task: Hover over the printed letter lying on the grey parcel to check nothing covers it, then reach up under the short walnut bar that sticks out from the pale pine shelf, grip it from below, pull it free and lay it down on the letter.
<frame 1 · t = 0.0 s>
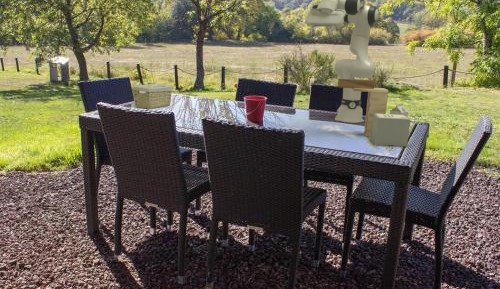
hand: (320, 33, 240), 54 cm above the table, tool tilted 30°, fingers open, 8 cm apart
pine shelf: (367, 134, 260), on the table
letter: (391, 116, 240), resting on grey parcel
walnut bar: (355, 87, 254), point 26 cm above the table, touching pine shelf
grey parcel: (388, 142, 243), on the table
storage basket: (153, 106, 323), on the table
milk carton: (395, 138, 256), on the table
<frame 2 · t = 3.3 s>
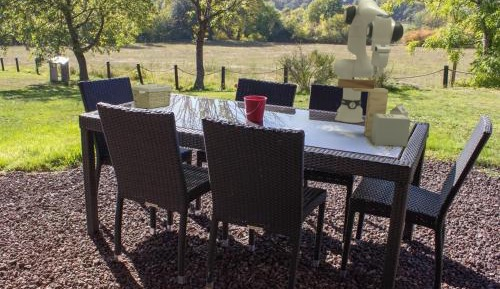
hand: (377, 75, 237), 35 cm above the table, tool pointing down, fingers open, 8 cm apart
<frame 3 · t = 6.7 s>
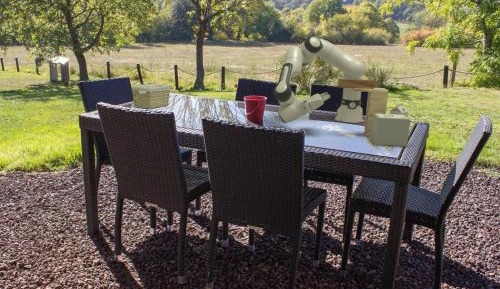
hand: (328, 94, 256), 22 cm above the table, tool pointing upward, fingers open, 8 cm apart
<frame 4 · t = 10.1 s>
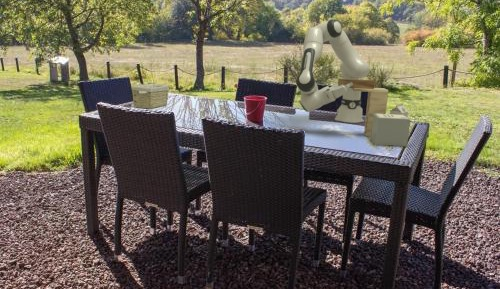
hand: (351, 82, 254), 29 cm above the table, tool pointing upward, fingers closed on walnut bar, 4 cm apart
walnut bar: (355, 87, 254), point 26 cm above the table, touching gripper, pine shelf
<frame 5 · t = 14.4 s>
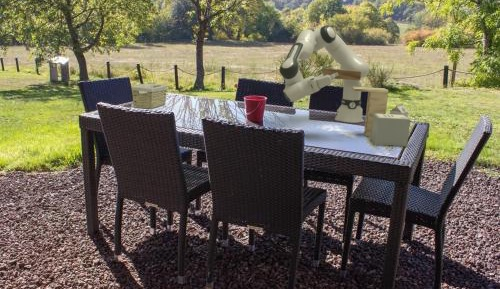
hand: (337, 73, 244), 34 cm above the table, tool pointing upward, fingers closed on walnut bar, 4 cm apart
walnut bar: (341, 78, 244), point 32 cm above the table, touching gripper
when the fingers open (19 cm above the table, at t = 18.7 s): walnut bar drops 2 cm, resting on letter.
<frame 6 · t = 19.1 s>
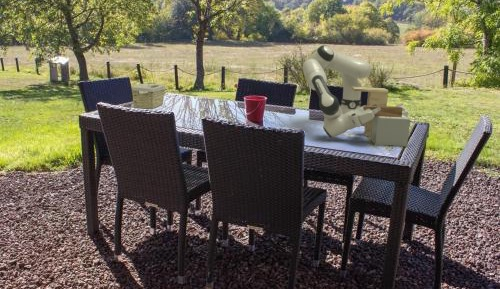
hand: (378, 106, 239), 19 cm above the table, tool pointing upward, fingers open, 8 cm apart
walnut bar: (382, 115, 240), point 14 cm above the table, touching letter
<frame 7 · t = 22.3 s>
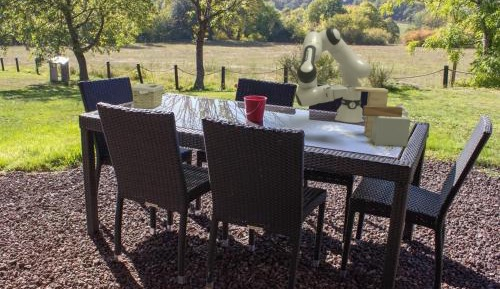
hand: (353, 87, 241), 28 cm above the table, tool pointing upward, fingers open, 8 cm apart
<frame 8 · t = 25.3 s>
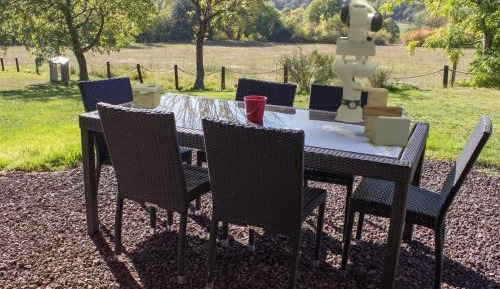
hand: (354, 64, 244), 39 cm above the table, tool pointing down, fingers open, 8 cm apart
at the end: walnut bar inside the target area on the letter (1.8 cm from its centre), point 0.3 cm above the letter's base; the gripper is holding nothing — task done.
